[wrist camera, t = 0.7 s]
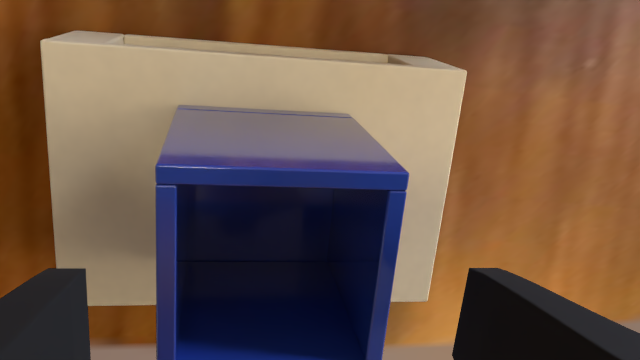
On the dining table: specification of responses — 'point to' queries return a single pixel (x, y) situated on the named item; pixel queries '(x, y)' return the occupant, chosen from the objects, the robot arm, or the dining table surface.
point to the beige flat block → (234, 92)
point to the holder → (274, 236)
